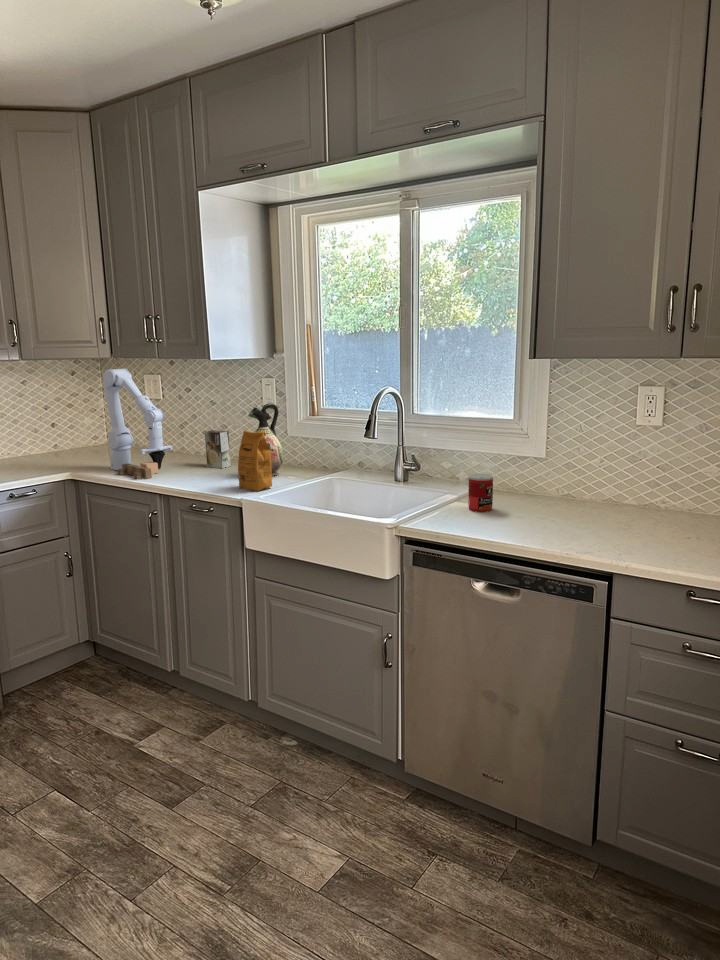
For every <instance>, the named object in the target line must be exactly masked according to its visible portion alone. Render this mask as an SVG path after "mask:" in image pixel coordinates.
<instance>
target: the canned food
mask: <svg viewBox="0 0 720 960" xmlns="http://www.w3.org/2000/svg"><path fill="white" fill-rule="evenodd" d="M493 492H494V476H493V475H491V474H485V473H473V474H469V476H468V497H467V498H468V500H467V501H468V503H467V504H468V510H470V511H471V510H472V511H471V512H475V511H477V512H476V513H486V512H485V511H488V512H491V511H492V509H493V499H494V497H493V495H494V493H493ZM490 510H491V511H490Z"/></svg>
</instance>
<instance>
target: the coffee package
mask: <svg viewBox="0 0 720 960" xmlns="http://www.w3.org/2000/svg"><path fill="white" fill-rule="evenodd" d="M265 435H266V434H265V432H255V431H253V432H251V431H249V430H247V429H244V430H243V433H242V437H241V441H240V445H239V448H238V449H239V450H238V458H237V460H238V461H237V463H238V464H237V465H238V466H237V475H238V485H239V486H238V487H239V489H240V488H244V489H245V490H246V489H247V490H246V491H248V490H253V491H252V492H260V491H262V490H264V489H268V488H271V487H272V486H273V476H272V469H271V450H270V447H269V445H268V443H267V441H266V439H265ZM244 489H243V490H244Z"/></svg>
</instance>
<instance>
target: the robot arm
mask: <svg viewBox="0 0 720 960" xmlns="http://www.w3.org/2000/svg"><path fill="white" fill-rule="evenodd" d="M132 378H133V376H132V374H131V373H130V372H129V370H128V369H127V368H125V367H123V368H117V369H116V368H115V369H114V368H113V369H110V368H108V369H106V370H105V372H104V373H103V374H102V379H103V380H102V381H103V384H104V386H103V389H104V395H105V399H106V405H107V409H108V414H109V419H110V423H111V425H110V426H111V429H110V431H108V433H107V434H108V435H107V437H108V440H107V443H108V446H109V447H110V449H111V451H110V454H109V456H110V457H109V458H110V467H109V468H110V469H111V470H114V471H118V469H122V464H125V463H128V464H132V456H131V455H132V454H131V449H132V446H133V444H134V437H133V435H132V434H131V433H132V432H131V430H130V429H129V428H128V427H126V425H125V420H124V419H125V418H124V414H123V410H122V405H121V399H120V394H119V392H120V391H119V390H121V388H124V389H126V391H127V392H128V393H129V394H130V395H131V396H132V398H134V399H135V402H134V403H135V405H136V407H137V408H138V409H139V410H140V412H141V413H142V414H143V420H144V422H145V424H146V427H147V433H148V446H149V447H147V448H143V449H139V453H140V455H147V454H148V455H149V457H150V459H151V460H152V462H156V463H158V470H160V469H161V467H162V463H163V459H164V457H165V455H166V451H173V450H174V449H173V445H164V441H163V440H164V439H163V438H164V437H163V427H162V426H163V424H162V422H163V420H164V418H165V415H164V412H163V410H162V409H161V408H158V407H157V406H155V405H154V404H153V402H152V401H151V400H150V397H149V396H148V395H143V394H142V392H141V391H140V389H139V388H138V387H137V385H136V384H135V382H134V380H133V379H132ZM110 469H109V470H110Z"/></svg>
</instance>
